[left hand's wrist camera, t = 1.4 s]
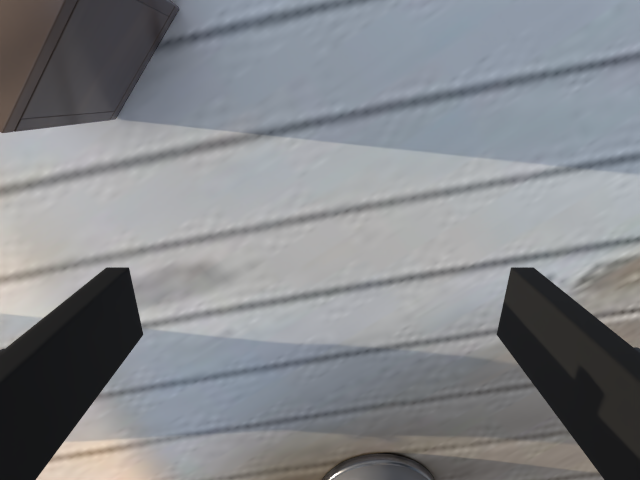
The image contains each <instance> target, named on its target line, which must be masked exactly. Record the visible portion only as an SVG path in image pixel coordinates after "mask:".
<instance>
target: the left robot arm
mask: <svg viewBox="0 0 640 480" xmlns="http://www.w3.org/2000/svg"><path fill="white" fill-rule="evenodd" d="M142 336H143V331H142V327H141V322H140V317H139V313H138V308H137V303H136V299H135V294H134V289H133V285H132V280H131V275H130V271H129V268H105V269H104V270H103V271H102V272H100V273H99V274H98V275H97V276H95V277H94V278H93V279H92V280H90V281H89V282H88V283H87V284H86V285H84V286H83V287H82V288H81V289H79V290H78V291H77V292H76V293H74V294H73V295H72V296H71V297H69V298H68V299H67V300H66V301H64V302H63V303H62V304H61V305H59V306H58V307H57V308H56V309H54V310H53V311H52V312H51V313H49V314H48V315H47V316H46V317H44V318H43V319H42V320H41V321H39V322H38V323H37V324H36V325H34V326H33V327H32V328H31V329H29V330H28V331H27V332H26V333H24V334H23V335H22V336H21V337H19V338H18V339H17V340H16V341H14V342H13V343H12V344H11V345H9V346H8V347H7V348H6V349H2V350H0V480H36V478H37V477H38V476H39V474H40V473H41V472H42V470H43V469H44V468H45V466H46V465H47V464H48V462H49V461H50V460H51V458H52V457H53V455H54V454H55V453H56V451H57V450H58V449H59V447H60V446H61V445H62V443H63V442H64V441H65V439H66V438H67V437H68V435H69V434H70V433H71V431H72V430H73V429H74V427H75V426H76V424H77V423H78V422H79V420H80V419H81V418H82V416H83V415H84V414H85V412H86V411H87V410H88V408H89V407H90V406H91V404H92V403H93V402H94V400H95V399H96V398H97V396H98V395H99V394H100V392H101V391H102V389H103V388H104V387H105V385H106V384H107V383H108V381H109V380H110V379H111V377H112V376H113V375H114V373H115V372H116V371H117V369H118V368H119V367H120V365H121V364H122V363H123V361H124V360H125V358H126V357H127V356H128V354H129V353H130V352H131V350H132V349H133V348H134V346H135V345H136V344H137V342H138V341H139V340H140V338H141V337H142ZM497 336H498V337H499V338H500V340H501V341H502V342H503V344H504V345H505V346H506V348H507V349H508V350H509V352H510V353H511V354H512V356H513V357H514V358H515V360H516V361H517V363H518V364H519V365H520V367H521V368H522V369H523V371H524V372H525V373H526V375H527V376H528V377H529V379H530V380H531V381H532V383H533V384H534V385H535V387H536V388H537V389H538V391H539V392H540V394H541V395H542V396H543V398H544V399H545V400H546V402H547V403H548V404H549V406H550V407H551V408H552V410H553V411H554V412H555V414H556V415H557V416H558V418H559V419H560V420H561V422H562V423H563V424H564V426H565V427H566V429H567V430H568V431H569V433H570V434H571V435H572V437H573V438H574V439H575V441H576V442H577V443H578V445H579V446H580V447H581V449H582V450H583V451H584V453H585V454H586V455H587V457H588V458H589V460H590V461H591V462H592V464H593V465H594V466H595V468H596V469H597V470H598V472H599V473H600V474H601V476H602V477H603V478H604V480H640V349H639V348H633V347H632V346H631V345H629V344H628V343H627V342H626V341H624V340H623V339H622V338H621V337H619V336H618V335H617V334H616V333H614V332H613V331H612V330H611V329H609V328H608V327H607V326H606V325H604V324H603V323H602V322H601V321H599V320H598V319H597V318H596V317H594V316H593V315H592V314H591V313H589V312H588V311H587V310H586V309H584V308H583V307H582V306H581V305H579V304H578V303H577V302H576V301H574V300H573V299H572V298H571V297H569V296H568V295H567V294H566V293H564V292H563V291H562V290H561V289H559V288H558V287H557V286H556V285H554V284H553V283H552V282H551V281H550V280H548V279H547V278H546V277H545V276H543V275H542V274H541V273H540V272H538V271H537V270H536V269H535V268H511V271H510V275H509V280H508V285H507V289H506V294H505V299H504V303H503V308H502V313H501V317H500V322H499V327H498V331H497ZM322 480H434V478H433V476H432V475H431V473H430V472H429V471H428V470H427V469H426V468H425V467H423V466H422V465H421V464H419V463H417V462H416V461H413V460H411V459H409V458H406V457H402V456H398V455H393V454H368V455H362V456H358V457H355V458H352V459H349V460H346V461H344V462H342V463H340V464H339V465H337V466H335V467H334V468H333V469H331V470H330V471H329V472H328V473H327V474H326V475H325V477H324V478H323V479H322Z"/></svg>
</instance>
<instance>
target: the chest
mask: <svg viewBox="0 0 640 480" xmlns="http://www.w3.org/2000/svg"><path fill="white" fill-rule="evenodd" d="M178 10H179V8H178V7H177V6H176V5H175V4H174V3H173V2H172V1H170V0H77V2H76V4H75V6H74V8H73V10H72V12H71V14H70V16H69V18H68V21H67V23H66V25H65V27H64V29H63V31H62V33H61V35H60V37H59V39H58V41H57V43H56V45H55V47H54V49H53V51H52V54H51V56H50V58H49V60H48V62H47V64H46V66H45V68H44V70H43V72H42V74H41V76H40V78H39V80H38V82H37V84H36V87H35V89H34V91H33V93H32V95H31V97H30V99H29V101H28V103H27V105H26V107H25V109H24V111H23V113H22V115H21V117H20V120H19V122H18V124H17V126H16V128H15V130H14V131H15V132H16V131H25V130H33V129H41V128H49V127H58V126H66V125H74V124H82V123H91V122H99V121H107V120H114V119H116V117H117V115H118V114H119V112H120V110H121V108H122V107H123V105H124V103H125V101H126V100H127V98H128V96H129V95H130V93H131V91H132V89H133V88H134V86H135V84H136V82H137V81H138V79H139V77H140V76H141V74H142V72H143V70H144V69H145V67H146V65H147V63H148V62H149V60H150V58H151V57H152V55H153V53H154V51H155V50H156V48H157V46H158V44H159V43H160V41H161V39H162V37H163V36H164V34H165V32H166V31H167V29H168V27H169V25H170V24H171V22H172V20H173V18H174V17H175V15H176V13H177V12H178Z"/></svg>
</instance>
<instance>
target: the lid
mask: <svg viewBox="0 0 640 480" xmlns="http://www.w3.org/2000/svg"><path fill="white" fill-rule="evenodd" d="M76 2H77V0H0V132H1V133H7V132H13V131H14V130H15V128H16V126H17V124H18V122H19V120H20V117H21V115H22V113H23V111H24V109H25V107H26V105H27V103H28V101H29V99H30V97H31V95H32V93H33V91H34V89H35V87H36V84H37V82H38V80H39V78H40V76H41V74H42V72H43V70H44V68H45V66H46V64H47V62H48V60H49V58H50V56H51V54H52V51H53V49H54V47H55V45H56V43H57V41H58V39H59V37H60V35H61V33H62V31H63V29H64V27H65V25H66V23H67V21H68V18H69V16H70V14H71V12H72V10H73V8H74V6H75V4H76Z"/></svg>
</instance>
